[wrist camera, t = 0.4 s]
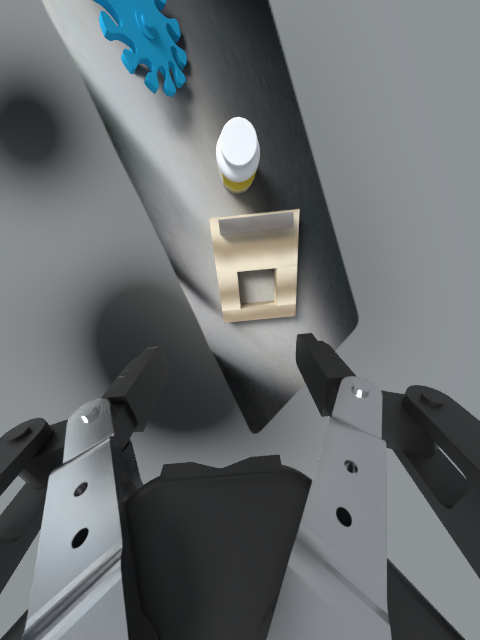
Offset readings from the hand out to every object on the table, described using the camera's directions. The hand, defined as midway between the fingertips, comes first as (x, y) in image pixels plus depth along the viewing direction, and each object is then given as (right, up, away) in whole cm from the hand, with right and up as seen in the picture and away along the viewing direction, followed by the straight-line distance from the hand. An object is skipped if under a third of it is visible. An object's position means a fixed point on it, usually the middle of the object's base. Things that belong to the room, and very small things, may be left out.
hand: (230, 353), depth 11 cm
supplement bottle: (0, +25, +17) cm, 31 cm away
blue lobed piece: (-10, +36, +12) cm, 39 cm away
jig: (+4, +11, +23) cm, 26 cm away
